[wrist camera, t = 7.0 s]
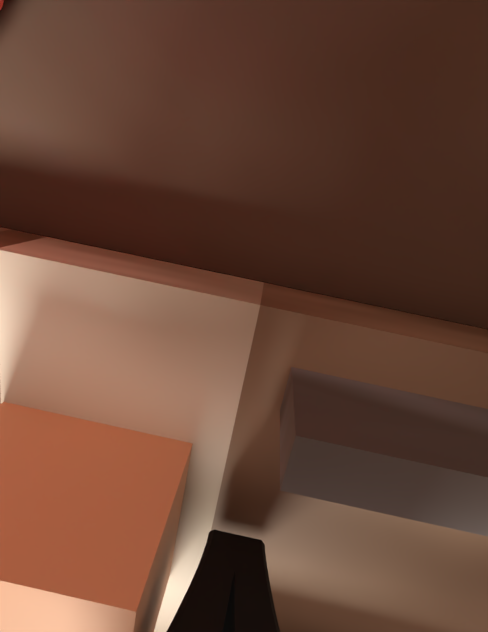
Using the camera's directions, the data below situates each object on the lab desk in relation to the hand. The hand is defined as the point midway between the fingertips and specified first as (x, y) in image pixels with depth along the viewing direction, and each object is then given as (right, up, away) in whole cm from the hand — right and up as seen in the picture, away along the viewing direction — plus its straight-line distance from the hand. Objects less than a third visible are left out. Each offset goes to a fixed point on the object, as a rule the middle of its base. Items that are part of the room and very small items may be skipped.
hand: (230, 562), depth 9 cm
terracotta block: (-4, +1, +1) cm, 4 cm away
